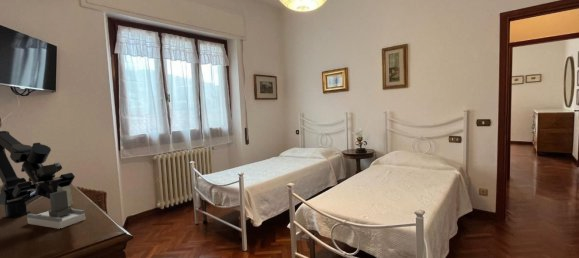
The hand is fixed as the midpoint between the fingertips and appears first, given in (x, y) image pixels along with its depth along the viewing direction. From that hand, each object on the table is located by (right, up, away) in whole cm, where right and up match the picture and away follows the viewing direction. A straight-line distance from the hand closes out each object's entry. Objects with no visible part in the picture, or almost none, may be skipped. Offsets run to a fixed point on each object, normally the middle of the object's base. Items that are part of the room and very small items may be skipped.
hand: (56, 200), depth 108 cm
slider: (+2, -6, 0) cm, 6 cm away
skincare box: (-14, -9, +20) cm, 26 cm away
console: (-1, -9, +1) cm, 9 cm away
